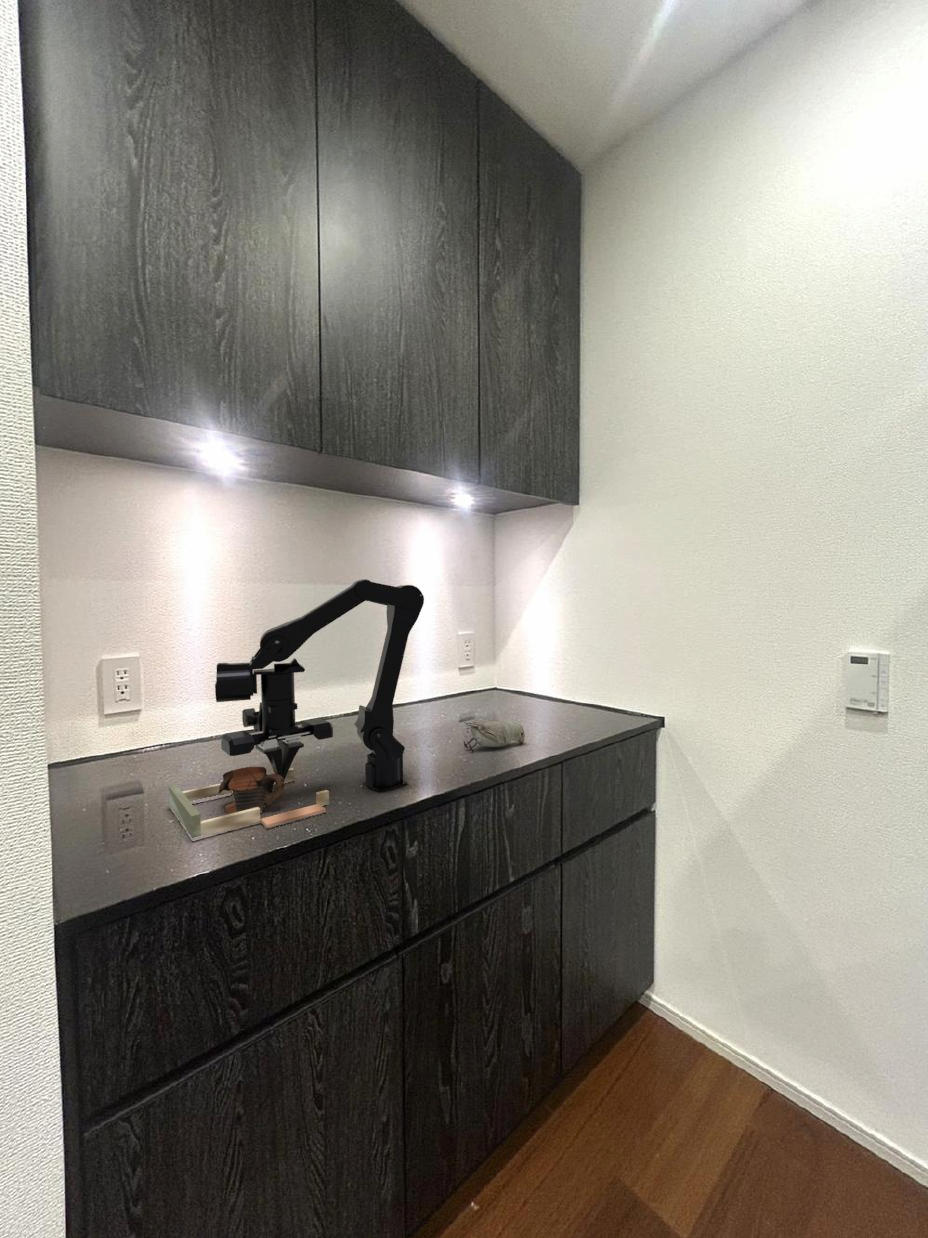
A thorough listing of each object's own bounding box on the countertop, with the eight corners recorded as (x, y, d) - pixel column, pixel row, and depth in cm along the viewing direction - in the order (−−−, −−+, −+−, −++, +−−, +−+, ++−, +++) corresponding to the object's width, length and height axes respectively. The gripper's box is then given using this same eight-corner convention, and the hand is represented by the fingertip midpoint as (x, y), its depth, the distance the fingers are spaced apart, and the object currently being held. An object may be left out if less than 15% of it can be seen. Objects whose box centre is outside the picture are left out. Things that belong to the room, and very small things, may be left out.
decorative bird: (529, 747, 132) (529, 716, 132) (470, 756, 125) (470, 724, 125) (517, 741, 137) (517, 712, 137) (460, 750, 130) (459, 719, 130)
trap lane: (286, 776, 112) (286, 757, 112) (336, 810, 94) (336, 787, 94) (165, 803, 98) (165, 781, 98) (197, 849, 80) (196, 822, 80)
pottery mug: (207, 823, 90) (206, 774, 94) (237, 826, 99) (235, 781, 102) (276, 805, 89) (272, 756, 93) (300, 810, 98) (296, 765, 101)
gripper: (309, 685, 111) (311, 761, 112) (211, 697, 99) (214, 782, 100) (333, 693, 102) (335, 775, 103) (229, 707, 90) (232, 799, 91)
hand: (280, 782), depth 99 cm, fingers closed
